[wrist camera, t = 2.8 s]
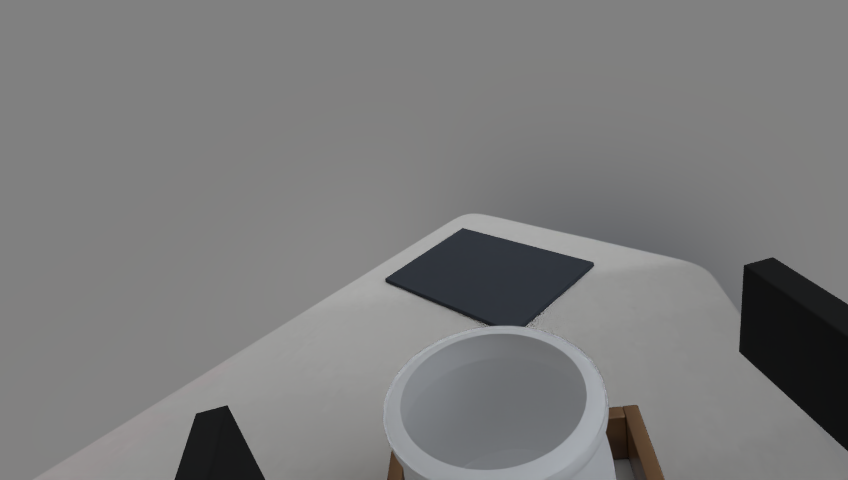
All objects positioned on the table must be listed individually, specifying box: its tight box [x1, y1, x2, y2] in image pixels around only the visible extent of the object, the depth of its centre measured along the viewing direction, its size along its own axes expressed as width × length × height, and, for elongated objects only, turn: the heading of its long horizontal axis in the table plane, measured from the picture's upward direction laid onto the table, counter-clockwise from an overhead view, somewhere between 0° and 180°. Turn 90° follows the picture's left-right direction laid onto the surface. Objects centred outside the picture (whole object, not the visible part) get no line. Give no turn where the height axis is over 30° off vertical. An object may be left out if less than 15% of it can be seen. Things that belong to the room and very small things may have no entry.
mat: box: [385, 228, 594, 327], centre depth 63 cm, size 20×14×1 cm
